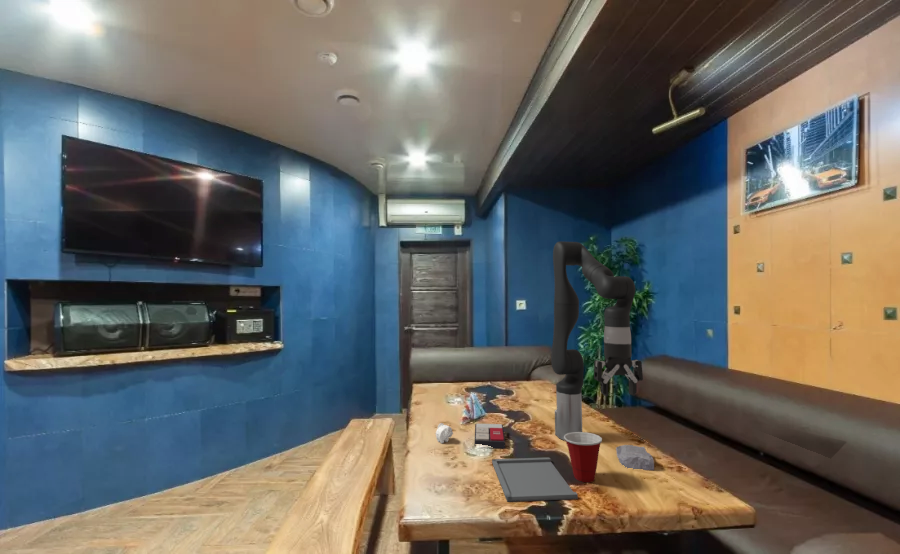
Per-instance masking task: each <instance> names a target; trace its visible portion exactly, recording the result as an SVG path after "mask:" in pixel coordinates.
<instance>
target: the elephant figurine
mask: <svg viewBox="0 0 900 554" xmlns="http://www.w3.org/2000/svg"><path fill="white" fill-rule="evenodd" d="M434 434H435V437H436V440H437V442H438V443H440V444H445V443H448V442H449V439H450V438H451V437H452V436H453V435H454V432H453V428H452V427H451V426H449V425H447V424H444V423H443V422H440V423H439V424H438V426H437V429H436V431H435V433H434Z"/></svg>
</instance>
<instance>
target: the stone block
mask: <svg viewBox="0 0 900 554" xmlns="http://www.w3.org/2000/svg"><path fill="white" fill-rule="evenodd" d="M615 451H616V457H617V458H618V461H619V464H620V463H621V464H620V465H621V466H623V465H624V466H625V467H624V466H623V467H624V468H626V467H627V468H626V469H628V468H633V469H632V470H634V469H643V471H654V470H655V461H654V458H653V456H652V454H650V453H649V452H647V450H646V447H644V446H637V445H632V444H624V445H623V444H622V445H619V446H615Z"/></svg>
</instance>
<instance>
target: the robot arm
mask: <svg viewBox="0 0 900 554" xmlns="http://www.w3.org/2000/svg"><path fill="white" fill-rule="evenodd" d="M552 251H553V252H552V261H553V262H552V263H553V264H552V265H553V274H554V275H553V276H554V277H553V278H554V295H553V297H554V298H553V300H554V301H553V337H552V339H553V340H552V347H551V355H550V362H551V368H552V371H553V372H554V373H555V374H556V375H560V376H561V375H563V376H564V375H565V376H564V377H563V378H562V379H561V380H560V381H558V382H557V383H556V385H555V389H556V391H555V393H556V396H555V398H556V409H554V435H555V436H557V438H559V439H560V440H562V441H565V442H566V440H565V439H564V435H566V434H568V433H573V432H583V409H582V408H583V407H582V406H583V405H582V403H583V402H582V389H583V385H584V370H585V369H584V366H585V365H584V359H583V355H582V354H581V352H580V351H579V350H578V349H573V348H572V349H568V340H569V338H570V335H571V333H572V331H573V329H574V328H575V326H576V324H577V322H578V320H579V316H580V299H579V297H578V294H577V292H576V291H575V288H574V287H573V285H572V284H571V283H570V280H569V278H568V273H567V266H579V267H581V271H582V275H583V276H584V278H585V279H586V280H587V281H588V282H590V283H591V284H592V285H593V286H594V287H595V289H596V292H597V294H598V295H599V296H600V297H602V299H603V298H604V299H607V300H616V301H615V302H616V303H615V304H614V305H612V306H609V307H606V308H605V309H604V313H603V314H604V331H603V350H604V351H603V352H604V353H603V355H604V360H597V359H595V360H594V363H593V364H594V365H593V366H594V367H593V380H595V381H597V382H599V383H600V392H601V394H602V395H603V396H605V397H608V396H609V384H608V383H609V380H610V379H611V378H613V376H625V377H626V378H627V379H628V393H629V395H631V396H636V394H637V392H638V391H637V383H638V382H640V381H641V382H642V381H644V376H643V375H644V373H643V364H642V361H641V360H638V359H633V360H632V359H631V358H632V333H631V324H630V323H631V320H630V316H631V315H630V313H631V310H632V305H633V302H634V298H635V293H636V285H635V283H634V280H633V279H632V278H630V276H621V275H620V276H615V275H614V273H613V271H612V270H611V269H610V268H609V267H607V266H606V265H604V264H603V263H601V262H600V261H598V260H597V259H596V258H595V256H594V255H592V254H591V252H590V251H589V250H588V249H587V248H586V246H585V245H584V244H582V243H581V242H578V241H556V243H555V244H554V246H553V250H552ZM604 367H605V369H604V371H603V368H604ZM632 367H633V371H632V370H631V368H632Z"/></svg>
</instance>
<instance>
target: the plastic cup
mask: <svg viewBox="0 0 900 554" xmlns="http://www.w3.org/2000/svg"><path fill="white" fill-rule="evenodd" d="M564 439H565V440H566V441H565V440H564V441H565V442H566V445H567V449H568V454H569V459H570V464H571V468H572V473H573V477H574V479H575V480H577V481H579V482H581V481H582V483H593V482H594V481H595V479H596V473H597V467H598V463H599V462H598V460H599V454H600V453H599V452H600V448H601V444H602V441H603V437H601V436H600V435H598V434H595V433H591V432H586V431H585V432H584V431H582V432H573V433H568V434H566V435H564Z"/></svg>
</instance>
